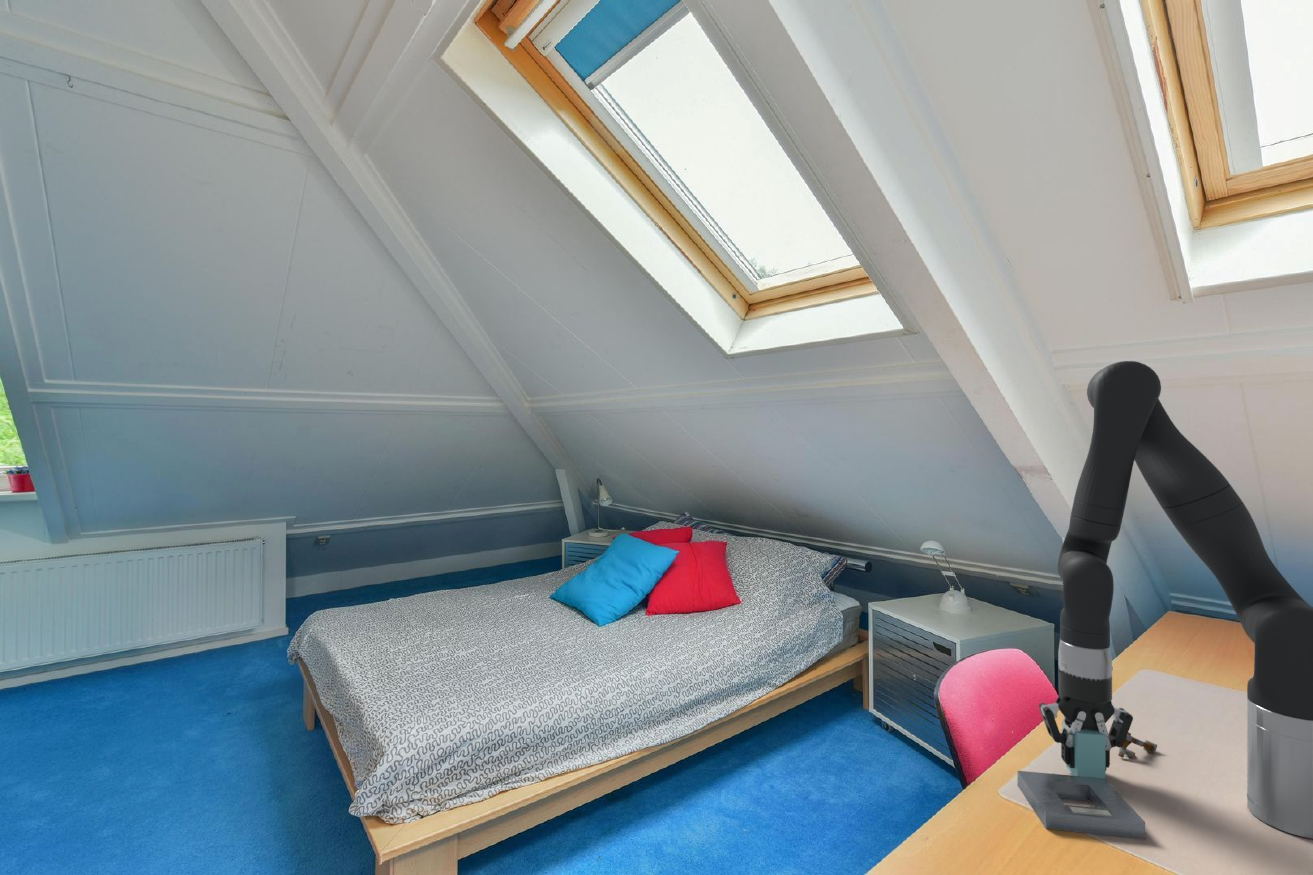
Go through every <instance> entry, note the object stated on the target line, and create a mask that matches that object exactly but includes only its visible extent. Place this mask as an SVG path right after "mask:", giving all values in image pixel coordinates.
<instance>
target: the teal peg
mask: <svg viewBox="0 0 1313 875" xmlns="http://www.w3.org/2000/svg"><path fill="white" fill-rule="evenodd" d="M1070 726H1072V724H1071V725H1070ZM1073 747H1074V748H1075V768H1069V767H1068V765H1067V764H1066V763H1065V767H1066V768H1067V769H1068V771H1069V772H1070V773H1071V774H1072V776H1084V777H1095V778H1105V779H1106V776H1107V775H1106V771H1105V735H1104V734H1100V733H1099V732H1098V730H1092V729H1089V728H1086V729H1081V730H1080V732H1076V735H1075V742H1074V745H1073ZM1106 780H1107V779H1106Z"/></svg>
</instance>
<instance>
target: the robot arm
mask: <svg viewBox="0 0 1313 875" xmlns="http://www.w3.org/2000/svg"><path fill="white" fill-rule="evenodd" d="M1161 384H1162V383H1161V380H1160V378H1159V375H1158V373H1156V372H1155V370H1153V368H1151V367H1150V366H1149V365H1147V364H1145V363H1142V362H1140V361H1135V360H1122V361H1118V362H1115V363H1112V364H1109V365H1107V366H1105V367H1103V368H1102V369H1100V370H1099V371H1097V372H1096V373H1095V374H1094V375H1092V377H1091V379H1090V380H1089V381H1088V384H1087V388H1086V396H1087V399H1088V402H1089V404H1090V406H1091V407H1092V408H1093V426H1092V427H1093V428H1092V435H1091V438H1090V439H1091V440H1090V444H1089V449H1088V452H1087V456H1086V459H1085V462H1084V464H1083V468H1082V471H1081V473H1080V476H1079V479H1078V482H1077V486H1076V489H1075V494H1074V497H1073V503H1072V508H1071V513H1070V519H1069V526H1068V530H1067V532H1066V535H1065V537H1064V539H1063V543H1062V546H1061V547H1060V548H1061V549H1060V552H1059V556H1058V561H1057V573H1058V575H1059V578H1060V579H1061V580H1062V586H1063V587H1062V589H1063V608H1062V609H1061V611H1060V617H1059V645H1058V652H1057V653H1058V656H1057V657H1058V662H1057V664H1058V667H1057V669H1058V670H1057V671H1058V674H1057V675H1058V681H1057V682H1058V696H1057V699H1056V700H1055V702H1054V703H1048V704H1046V703H1044V702H1040V703H1039V705H1038V708H1039V710H1040V713H1041V714H1040V715H1041V717H1042V719H1043V722H1044V725H1045V727H1046V728H1045V729H1046V730H1047V734H1049V736H1050V737H1051V738H1052V739H1053V741H1054V742H1055V743H1057V744H1059V743H1060V744H1061V745H1060V750H1061V751H1060V757H1061V760H1062V761H1063V762H1064V763H1065V765H1066V764H1067V765H1068V767H1069V768H1075V748H1074V747H1073V745H1074V742H1075V735H1076V732H1080V730H1081V729H1086V728H1089V729H1092V730H1098V732H1099V733H1100V734H1104V735H1105V772H1106V771H1107V768H1110V765H1111V760H1110V759H1111V749H1112V748H1115V747H1117V748H1119V749H1120V748H1121V747H1122V746H1123V745H1124V742H1125V739H1126V737H1127V734H1128V732H1129V731H1130V729H1131V726H1132V723H1133V722H1134V721H1133V720H1134V717H1133V715H1132V714H1130V713H1129V712H1128V711H1127V710H1126V709H1124V708H1123V707H1118V708H1117V707H1115V706H1114V705H1113V703H1112V700H1113V671H1114V670H1113V658H1112V652H1111V624H1110V616H1111V612H1112V611H1111V610H1112V605H1113V598H1114V590H1115V587H1114V576H1113V573H1112V572H1113V571H1112V570H1111V568H1110V566H1109V565H1108V564H1107V563H1108V558H1109V554H1110V551H1111V547H1112V542H1113V541H1115V540H1117V538H1118V536H1119V534H1120V530H1121V527H1122V525H1123V524H1122V523H1123V518H1124V515H1125V509H1126V504H1127V499H1128V494H1129V488H1130V482H1131V477H1132V474H1133V473H1132V471H1133V467H1134V462H1135V463H1136V466H1137V467H1138V469H1139V471H1140V473H1141V476H1142V477H1143V478H1144V480H1145V482H1146V484H1147V486H1148V487H1149V489H1150V491H1151V492H1152V494H1153V495H1154V497H1155V499H1156V500H1157V502H1158V505H1160V507H1161V508H1162V510H1163V512H1164V513H1165V514H1166V516H1167V517H1168V519H1169V520H1170V522H1171V524H1172V525H1173V526H1174V527H1175V529H1176V531H1178V533H1179V534H1180V535H1181V537H1182V539H1183V540H1184V541H1185V542H1186V544H1188V546H1189V547H1190V548H1191V549H1192V551H1193V552H1194V554H1196V555H1197V556H1198V558H1199V559H1200V560H1201V561H1202V562H1203V564H1204V565H1205V566H1206V567H1207V568H1208V569H1209V570H1210V572H1211V573H1212V574H1213V576H1214V577H1215V579H1217V581H1218V583H1219V585H1220V586H1221V588H1222V590H1223V591H1224V594H1225V596H1226V597H1227V598H1228V600H1229V603H1230V604H1231V606H1232V608H1233V610H1234V613H1235V614H1236V617H1237V618H1238V620H1239V622H1240V624H1241V626H1242V629H1243V631H1244V633H1246V635H1247V637H1248V639H1249V640H1251V641H1252V642H1253V644H1254V663H1253V665H1254V667H1253V668H1254V669H1253V677H1251V678H1250V679H1249V680H1247V687H1246V688H1247V690H1246V691H1247V692H1246V694H1247V695H1246V697H1247V698H1246V705H1247V706H1246V708H1247V709H1246V710H1247V711H1246V712H1247V713H1246V715H1247V716H1246V719H1247V720H1246V721H1247V724H1246V725H1247V728H1246V729H1247V730H1246V734H1247V735H1246V738H1247V739H1246V740H1247V742H1246V746H1247V748H1246V750H1247V751H1246V752H1247V754H1246V755H1247V758H1246V759H1247V761H1246V765H1247V766H1246V770H1247V771H1246V773H1247V774H1246V778H1247V779H1246V782H1247V784H1246V787H1247V788H1246V800H1247V801H1246V802H1247V803H1246V804H1247V806H1246V807H1247V809H1248V810H1249V812H1250V813H1251V814H1252V815H1253V816H1255V817H1256V818H1257V819H1258V820H1260V821H1262V822H1263V823H1265V824H1267V825H1269V826H1271V827H1272V828H1276V829H1278V830H1280V831H1283V832H1285V833H1288V834H1292V835H1295V836H1299V837H1302V838H1307V839H1312V840H1313V606H1312V605H1310V604H1309V603H1308V602H1307V601H1306V600H1305V599H1304V598H1303V597H1302V596H1301V595H1300V594H1299V593H1298V592H1297V591H1296V590H1295V589H1294V587H1293V586H1292V585H1291V584H1290V583H1289V582H1288V581H1287V579H1285V577H1284V576H1283V575H1282V573H1281V572H1280V571H1279V570H1278V568H1277V567H1276V565H1275V564H1274V562H1273V561H1272V559H1271V558H1270V556H1269V554H1268V553H1267V550H1266V549H1265V546H1264V543H1263V540H1262V537H1261V536H1260V532H1259V529H1258V528H1257V525H1256V522H1255V521H1254V519H1253V517H1252V515H1251V513H1250V511H1249V509H1248V508H1247V507H1246V505H1245V502H1243V500H1242V499H1241V497H1240V495H1238V493H1237V492H1236V491H1235V489H1234V488H1233V486H1232V485H1231V483H1230V482H1229V480H1227V478H1226V477H1225V475H1223V473H1222V472H1221V471H1220V470H1219V469H1218V467H1216V466H1215V464H1213V462H1211V461H1210V459H1209V458H1207V456H1206V455H1205V454H1203V453H1202V451H1200V449H1198V448H1197V447H1196V446H1195V445H1194V444H1193V443H1191V441H1190V440H1188V438H1186V437H1185V435H1183V433H1181V432H1180V430H1179V429H1178V428H1177V426H1176V425H1175V423H1174V422H1173V421H1172V419H1171V418H1170V416H1169V415H1168V413H1167V411H1166V409H1165V408H1164V406H1163V404H1162V402H1161V400H1160V399H1159V398H1160V396H1161V393H1162V392H1161V391H1162V385H1161ZM1059 711H1060V712H1061V714H1062V715H1063V719H1062V722H1061V725H1062V726H1061V727H1062V728H1061V731H1060V729H1059V727H1058V724H1057V721H1056V719H1057V718H1058V712H1059ZM1111 718H1112V719H1113V721H1112V724H1111V725H1110V730H1109V732H1108V728H1107V725H1106V723H1107V722H1109V719H1111ZM1071 724H1072V726H1070V725H1071Z"/></svg>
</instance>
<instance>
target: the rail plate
mask: <svg viewBox="0 0 1313 875" xmlns="http://www.w3.org/2000/svg"><path fill="white" fill-rule="evenodd" d="M1017 787H1018V788H1019V790H1020V791H1021V793H1022V794H1023V796H1024V797H1025V799H1026V801H1027V802H1028V804H1029V805H1030V807H1031V809H1032V810H1033V811H1034V813H1035V814H1036V816H1037V817H1038V818H1039V820H1040V822H1041V824H1042V825H1043V827H1044V828H1045V829H1046V830H1053V831H1055V830H1056V831H1065V832H1074V833H1082V834H1083V833H1084V834H1093V835H1103V836H1111V837H1121V838H1129V839H1130V838H1131V839H1141V840H1145V839H1146V821H1145V820H1144V819H1143V818H1142V817H1141V816H1140V814H1138V813H1137V811H1136V810H1135V809H1134V808H1133V807H1132V806H1131V805H1130V804H1129V803H1128V801H1127V800H1126V799H1125V798H1124V797H1123V795H1121V794H1120V793H1119V792H1118V790H1116V788H1115V787H1114V786H1113V785H1112V784H1111V782H1109V781H1108V780H1107V779H1105V778H1095V777H1084V776H1074V775H1073V774H1072V775H1071V774H1058V773H1048V772H1039V771H1037V772H1036V771H1025V770H1017ZM1062 799H1067V800H1077V801H1078V800H1079V801H1087V800H1088V801H1089V802H1090V804H1091V805H1092V806H1084V805H1073V804H1064V802H1063V801H1062Z"/></svg>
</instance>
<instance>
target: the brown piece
mask: <svg viewBox="0 0 1313 875" xmlns="http://www.w3.org/2000/svg"><path fill="white" fill-rule="evenodd" d="M1130 744H1134V745H1136V746H1139V747H1141V748H1142V749H1143V750H1144V749H1145V750H1144V751H1146V750H1147V751H1146V752H1148V753H1150V754H1153V753H1155V754H1156V753H1157V752H1156V751H1157V748H1158V744H1156V743H1155V742H1153V741H1150V740H1147V739H1145V740H1144V741H1142V740H1140V739H1138V738H1136V737H1134V736H1132V733H1131V732H1129V731H1128V734H1127V737H1126V739H1125V742H1124V745H1123V746H1122V747H1120V748H1119V750H1118V755H1117V756H1119V757H1120V758H1125V756H1126V757H1129V758H1131V757H1132V758H1135V756H1136V752H1134V751H1132V750H1130V749H1128V747H1129V746H1130Z"/></svg>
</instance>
